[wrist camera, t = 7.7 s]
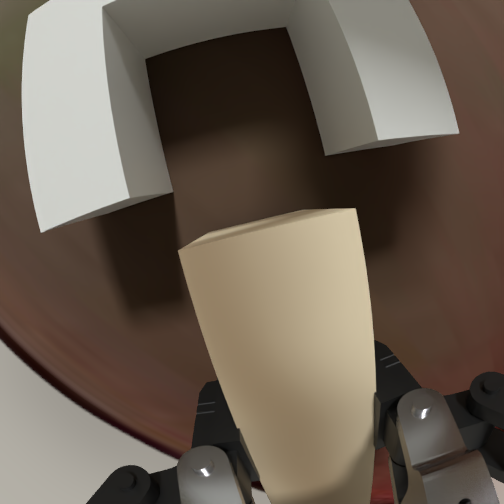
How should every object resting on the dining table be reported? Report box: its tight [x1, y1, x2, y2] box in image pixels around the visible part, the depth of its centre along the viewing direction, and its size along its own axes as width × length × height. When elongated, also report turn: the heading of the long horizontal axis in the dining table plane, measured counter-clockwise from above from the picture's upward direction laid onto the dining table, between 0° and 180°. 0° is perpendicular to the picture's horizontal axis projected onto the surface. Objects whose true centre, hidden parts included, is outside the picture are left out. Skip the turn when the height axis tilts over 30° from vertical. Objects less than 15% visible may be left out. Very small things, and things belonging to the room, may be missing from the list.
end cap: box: [22, 0, 459, 232], centre depth 7 cm, size 12×8×4 cm, turn 104°
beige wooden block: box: [178, 208, 376, 504], centre depth 9 cm, size 4×12×5 cm, turn 13°
